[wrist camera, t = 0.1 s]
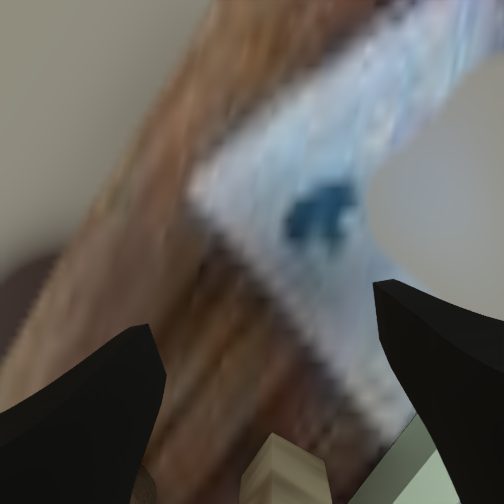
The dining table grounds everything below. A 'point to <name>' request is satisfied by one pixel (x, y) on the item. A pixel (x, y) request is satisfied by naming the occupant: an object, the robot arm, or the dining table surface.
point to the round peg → (143, 488)
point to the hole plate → (409, 473)
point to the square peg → (284, 476)
